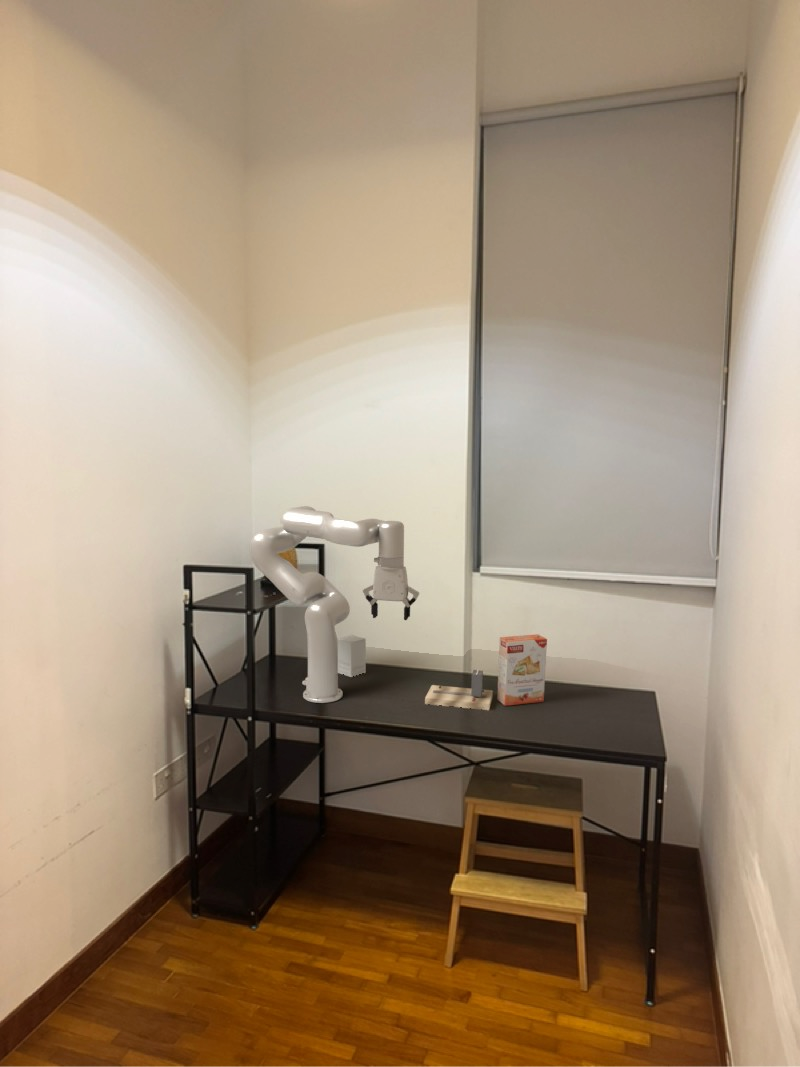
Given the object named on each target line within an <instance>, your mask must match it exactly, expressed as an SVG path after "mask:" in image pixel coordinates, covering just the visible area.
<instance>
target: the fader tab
mask: <svg viewBox="0 0 800 1067" xmlns="http://www.w3.org/2000/svg"><path fill="white" fill-rule="evenodd" d="M483 676H484V671H483V670H479V669H473V671H472V673H471V696H477V697H481V695H482V690H483V685H484V684H483V682H484V680H483V678H484V677H483Z"/></svg>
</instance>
